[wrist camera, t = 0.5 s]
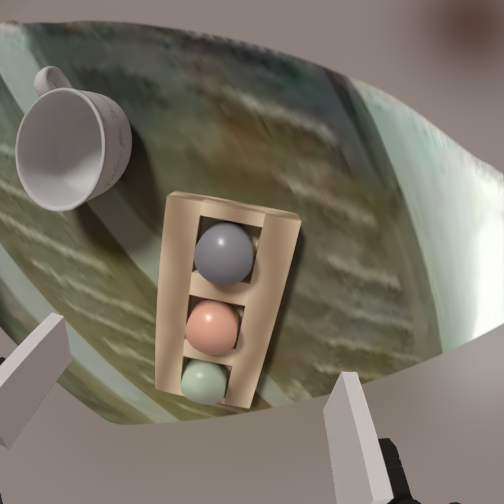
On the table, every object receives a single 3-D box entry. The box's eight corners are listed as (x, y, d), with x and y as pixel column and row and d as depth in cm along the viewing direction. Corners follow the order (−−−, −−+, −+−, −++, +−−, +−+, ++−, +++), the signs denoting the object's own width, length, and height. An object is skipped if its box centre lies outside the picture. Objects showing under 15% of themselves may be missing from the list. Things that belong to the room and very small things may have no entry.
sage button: (184, 382, 35) (179, 399, 32) (187, 353, 34) (181, 370, 31) (224, 390, 35) (221, 408, 33) (230, 361, 34) (227, 379, 31)
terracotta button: (189, 332, 32) (183, 349, 30) (193, 293, 31) (187, 307, 28) (234, 341, 33) (231, 359, 30) (242, 302, 31) (240, 318, 28)
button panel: (161, 373, 38) (155, 389, 35) (176, 190, 29) (166, 195, 26) (250, 392, 38) (249, 408, 35) (297, 213, 30) (301, 221, 27)
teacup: (150, 186, 29) (115, 202, 22) (66, 203, 30) (22, 221, 23) (135, 55, 25) (97, 34, 17) (52, 86, 25) (6, 81, 18)
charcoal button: (197, 266, 30) (190, 279, 27) (204, 216, 28) (197, 225, 25) (248, 276, 30) (246, 290, 27) (258, 226, 28) (258, 236, 25)
